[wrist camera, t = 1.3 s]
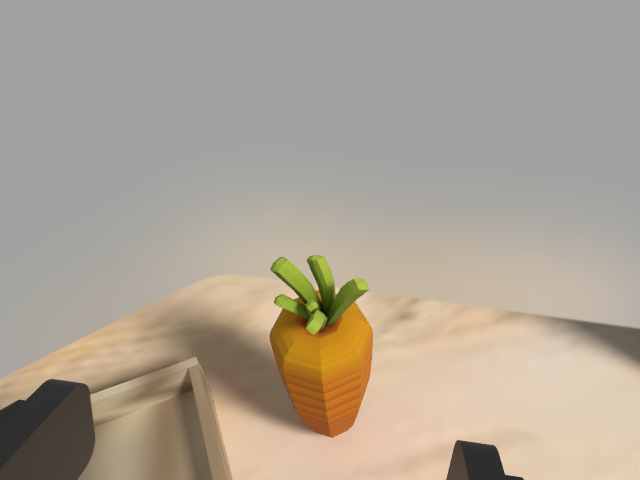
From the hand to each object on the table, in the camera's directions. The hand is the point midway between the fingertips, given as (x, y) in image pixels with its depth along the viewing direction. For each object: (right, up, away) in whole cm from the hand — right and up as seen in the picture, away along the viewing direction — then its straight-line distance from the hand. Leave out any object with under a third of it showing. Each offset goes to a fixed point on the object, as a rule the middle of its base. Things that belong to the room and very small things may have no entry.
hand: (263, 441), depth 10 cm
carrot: (+2, -8, +20) cm, 21 cm away
